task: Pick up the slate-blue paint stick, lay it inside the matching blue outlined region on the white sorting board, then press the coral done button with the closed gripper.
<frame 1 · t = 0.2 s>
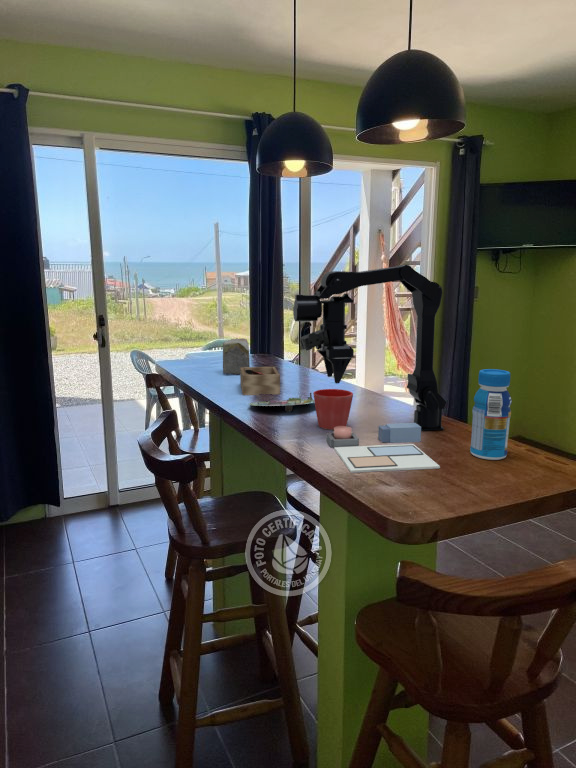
hand: (333, 379, 143), 14 cm above the table, tool pointing down, fingers open, 9 cm apart
button housing: (342, 443, 136), on the table
blue paint stick: (398, 440, 139), on the table
city model: (285, 408, 173), on the table
flower pot: (332, 426, 151), on the table
stuffed fox: (254, 390, 199), on the table
open wooden box: (259, 389, 198), on the table
white sorting board: (384, 458, 125), on the table
geological specimen: (236, 374, 230), on the table
beverage bottle: (488, 455, 127), on the table
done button: (342, 434, 135), point 3 cm above the table, slide at 0.0 cm
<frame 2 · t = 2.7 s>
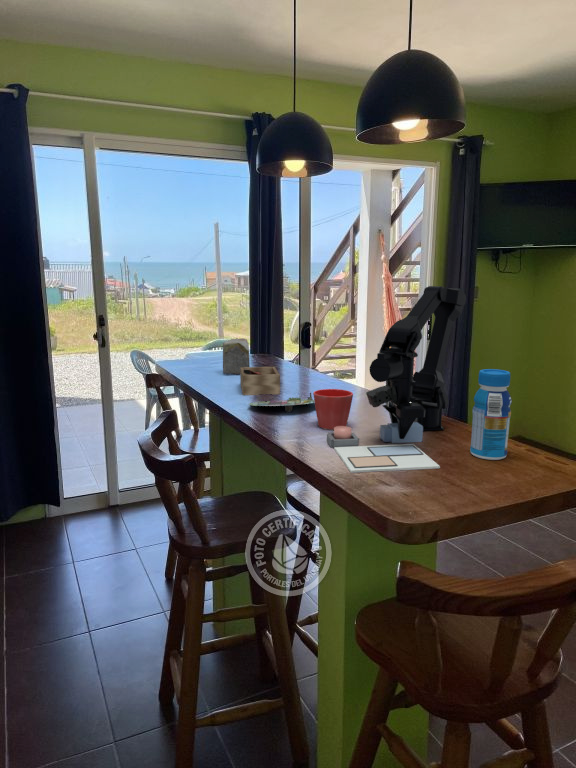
hand: (398, 436, 138), 1 cm above the table, tool pointing down, fingers closed on blue paint stick, 4 cm apart
blue paint stick: (400, 440, 139), on the table, touching gripper
stuffed fox: (252, 390, 199), on the table, touching open wooden box
everything else where it was.
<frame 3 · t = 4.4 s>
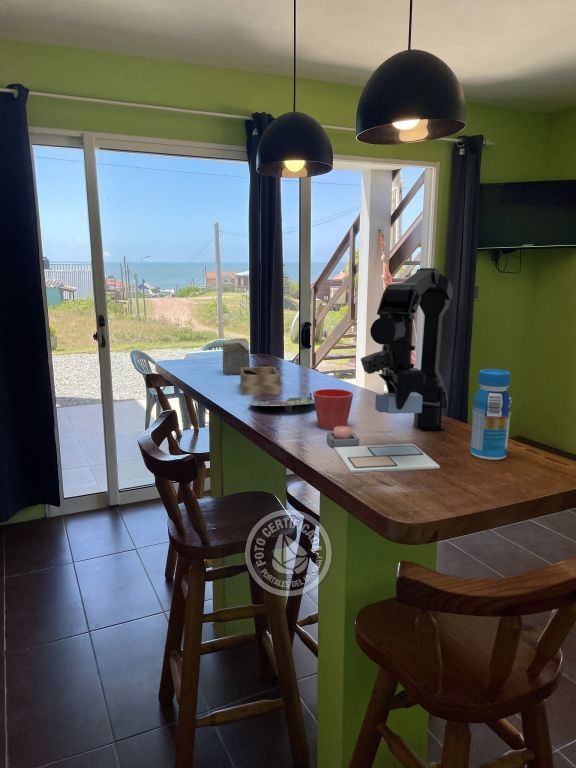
hand: (396, 407, 126), 11 cm above the table, tool pointing down, fingers closed on blue paint stick, 4 cm apart
blue paint stick: (397, 411, 126), point 10 cm above the table, touching gripper
stuffed fox: (252, 390, 199), on the table
everything else where it was.
when the fingers open (3 cm above the table, at t = 6.1 s): blue paint stick drops 2 cm, resting on white sorting board.
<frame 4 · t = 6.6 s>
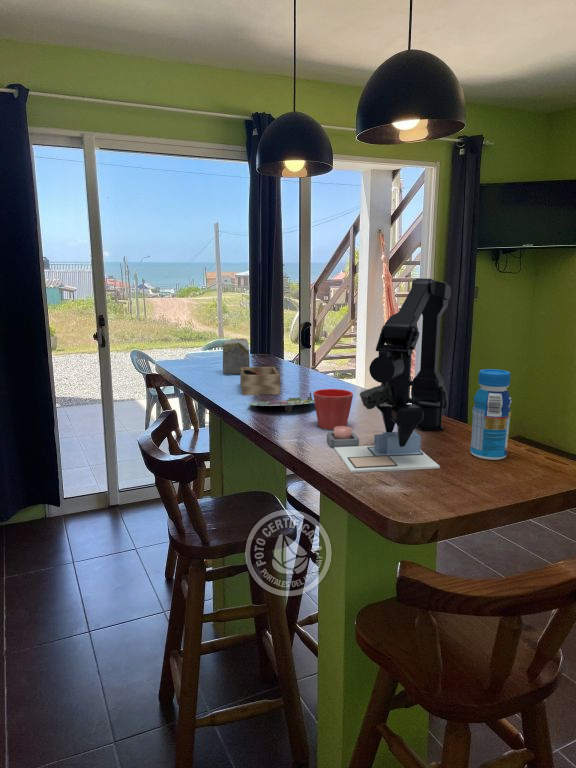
hand: (395, 440, 128), 3 cm above the table, tool pointing down, fingers open, 9 cm apart
blue paint stick: (396, 450, 128), point 1 cm above the table, touching white sorting board
everything else where it was.
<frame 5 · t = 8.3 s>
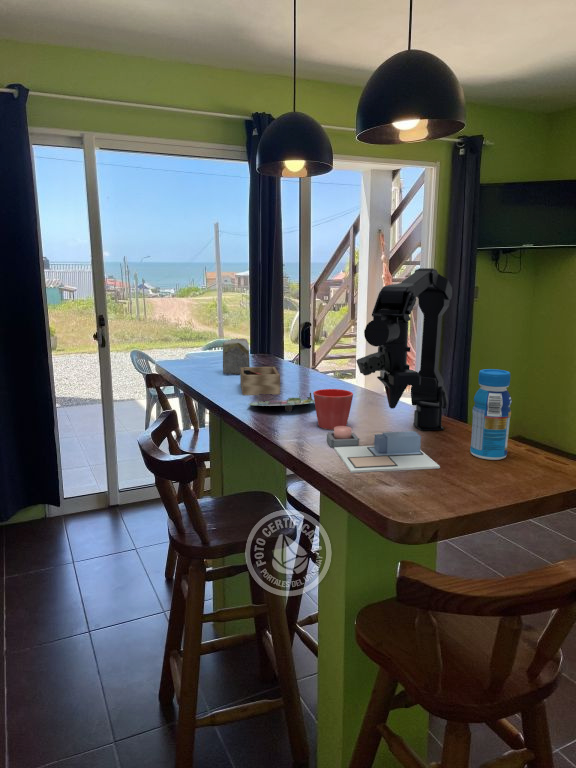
hand: (392, 408, 127), 11 cm above the table, tool pointing down, fingers closed
stuffed fox: (252, 390, 198), on the table, touching open wooden box
everything else where it was.
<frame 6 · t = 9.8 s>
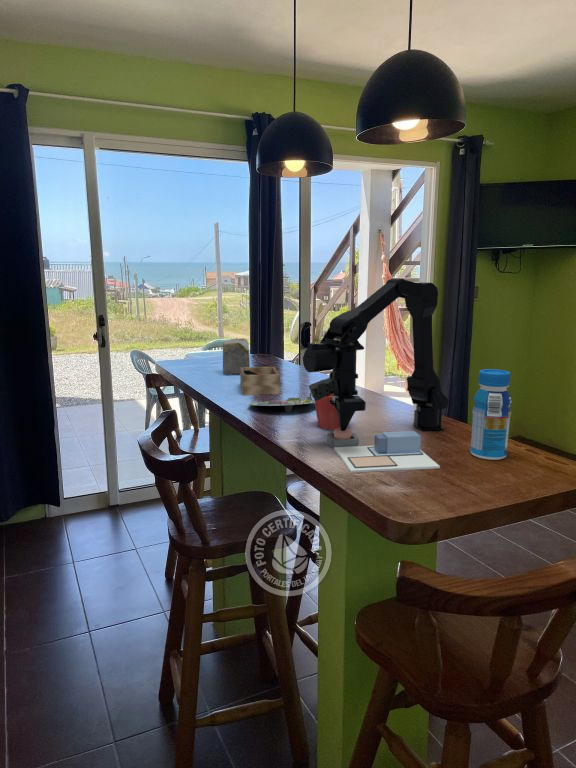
hand: (342, 430, 135), 3 cm above the table, tool pointing down, fingers closed, pressing on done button
stuffed fox: (252, 390, 198), on the table
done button: (342, 436, 135), point 2 cm above the table, slide at -0.5 cm, touching gripper
everything else where it was.
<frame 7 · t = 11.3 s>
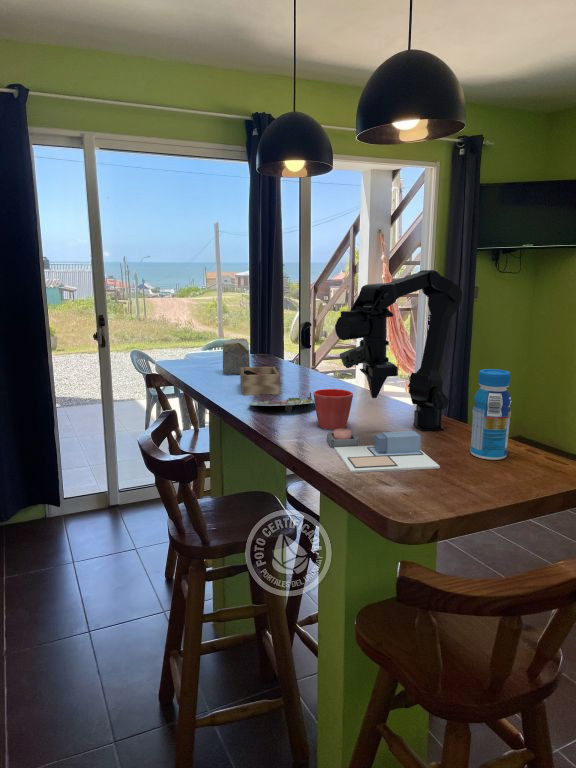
hand: (374, 397, 136), 11 cm above the table, tool pointing down, fingers closed
stuffed fox: (252, 390, 198), on the table, touching open wooden box
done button: (342, 436, 135), point 2 cm above the table, slide at -0.7 cm
everything else where it was.
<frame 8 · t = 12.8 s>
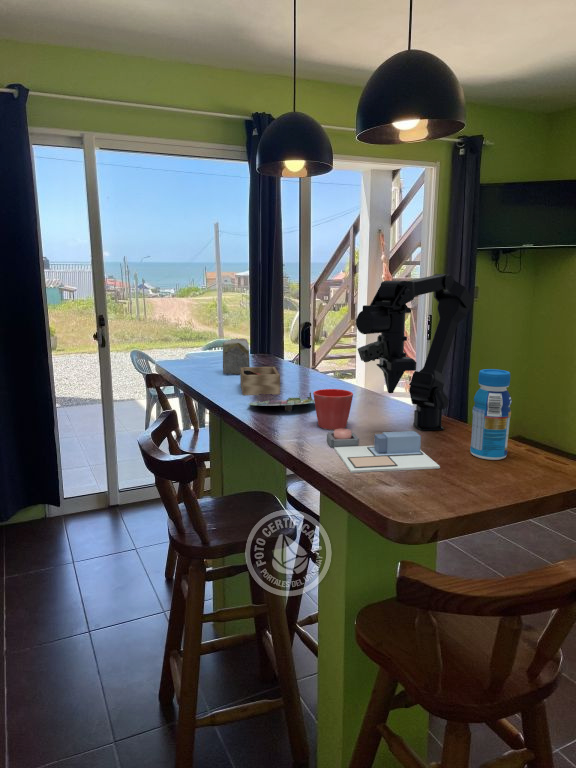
hand: (390, 392, 138), 12 cm above the table, tool pointing down, fingers closed
stuffed fox: (252, 391, 198), on the table
everything else where it was.
at the end: blue paint stick inside the target area (0.5 cm from its centre), point 0.7 cm above the table; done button slide at -0.7 cm; the gripper is holding nothing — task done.
